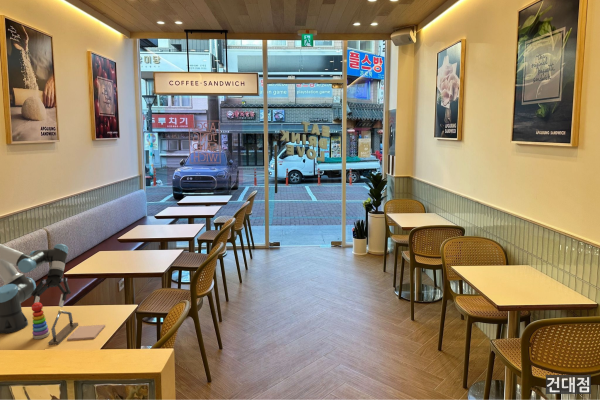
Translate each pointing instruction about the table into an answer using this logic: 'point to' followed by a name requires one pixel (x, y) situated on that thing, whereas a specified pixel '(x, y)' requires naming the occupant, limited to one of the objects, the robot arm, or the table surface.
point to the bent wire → (65, 331)
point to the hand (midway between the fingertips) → (47, 307)
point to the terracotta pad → (86, 332)
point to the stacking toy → (39, 322)
